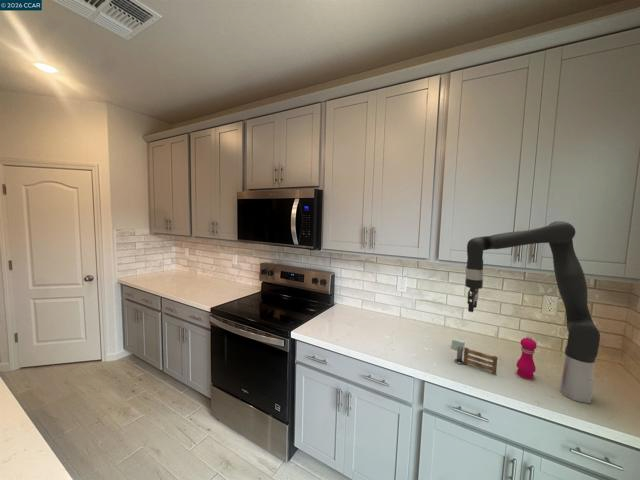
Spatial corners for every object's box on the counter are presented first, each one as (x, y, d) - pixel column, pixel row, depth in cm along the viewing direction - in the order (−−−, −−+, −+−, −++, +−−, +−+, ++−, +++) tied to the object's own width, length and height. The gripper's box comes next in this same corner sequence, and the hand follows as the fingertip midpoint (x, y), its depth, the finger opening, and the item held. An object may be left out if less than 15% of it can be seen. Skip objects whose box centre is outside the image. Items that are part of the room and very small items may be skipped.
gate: (496, 372, 130) (497, 356, 129) (495, 374, 129) (497, 358, 128) (463, 362, 139) (465, 347, 138) (463, 363, 138) (464, 348, 137)
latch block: (464, 349, 153) (464, 341, 152) (463, 351, 150) (463, 343, 150) (452, 346, 157) (453, 337, 156) (451, 348, 154) (452, 339, 154)
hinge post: (464, 362, 140) (466, 347, 139) (463, 365, 136) (464, 350, 136) (455, 359, 143) (456, 344, 142) (453, 362, 139) (454, 347, 138)
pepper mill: (527, 381, 125) (531, 339, 123) (512, 372, 132) (516, 333, 130) (538, 379, 127) (543, 338, 125) (523, 370, 134) (527, 331, 132)
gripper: (480, 281, 127) (478, 315, 128) (485, 276, 138) (483, 307, 139) (462, 279, 131) (461, 311, 133) (468, 274, 142) (467, 304, 144)
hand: (472, 309), depth 136 cm, fingers open, 8 cm apart
